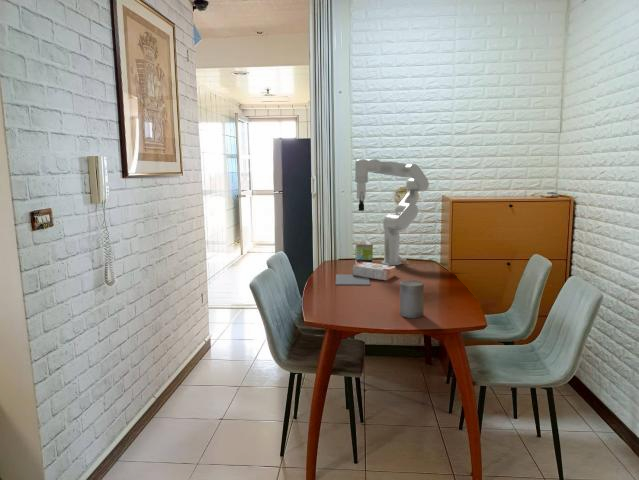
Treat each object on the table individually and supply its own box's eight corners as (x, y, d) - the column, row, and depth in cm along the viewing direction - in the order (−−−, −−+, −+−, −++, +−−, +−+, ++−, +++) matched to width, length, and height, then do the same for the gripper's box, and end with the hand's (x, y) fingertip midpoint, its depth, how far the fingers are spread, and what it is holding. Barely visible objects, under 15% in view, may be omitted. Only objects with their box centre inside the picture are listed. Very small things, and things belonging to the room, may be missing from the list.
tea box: (372, 267, 288) (373, 244, 285) (356, 268, 288) (356, 244, 286) (370, 263, 303) (370, 240, 300) (355, 263, 303) (355, 240, 301)
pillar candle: (420, 311, 199) (420, 276, 196) (426, 318, 189) (426, 281, 187) (397, 311, 198) (397, 277, 196) (402, 318, 189) (402, 282, 187)
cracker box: (362, 260, 274) (396, 266, 264) (361, 270, 275) (395, 276, 265) (352, 264, 262) (387, 270, 252) (351, 275, 263) (386, 281, 253)
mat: (367, 275, 266) (367, 274, 266) (370, 285, 244) (370, 284, 244) (336, 275, 267) (336, 274, 267) (335, 285, 245) (335, 284, 245)
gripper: (354, 180, 289) (354, 209, 292) (355, 180, 274) (355, 211, 277) (367, 179, 289) (366, 209, 291) (368, 180, 274) (368, 211, 277)
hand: (361, 210), depth 284 cm, fingers closed
